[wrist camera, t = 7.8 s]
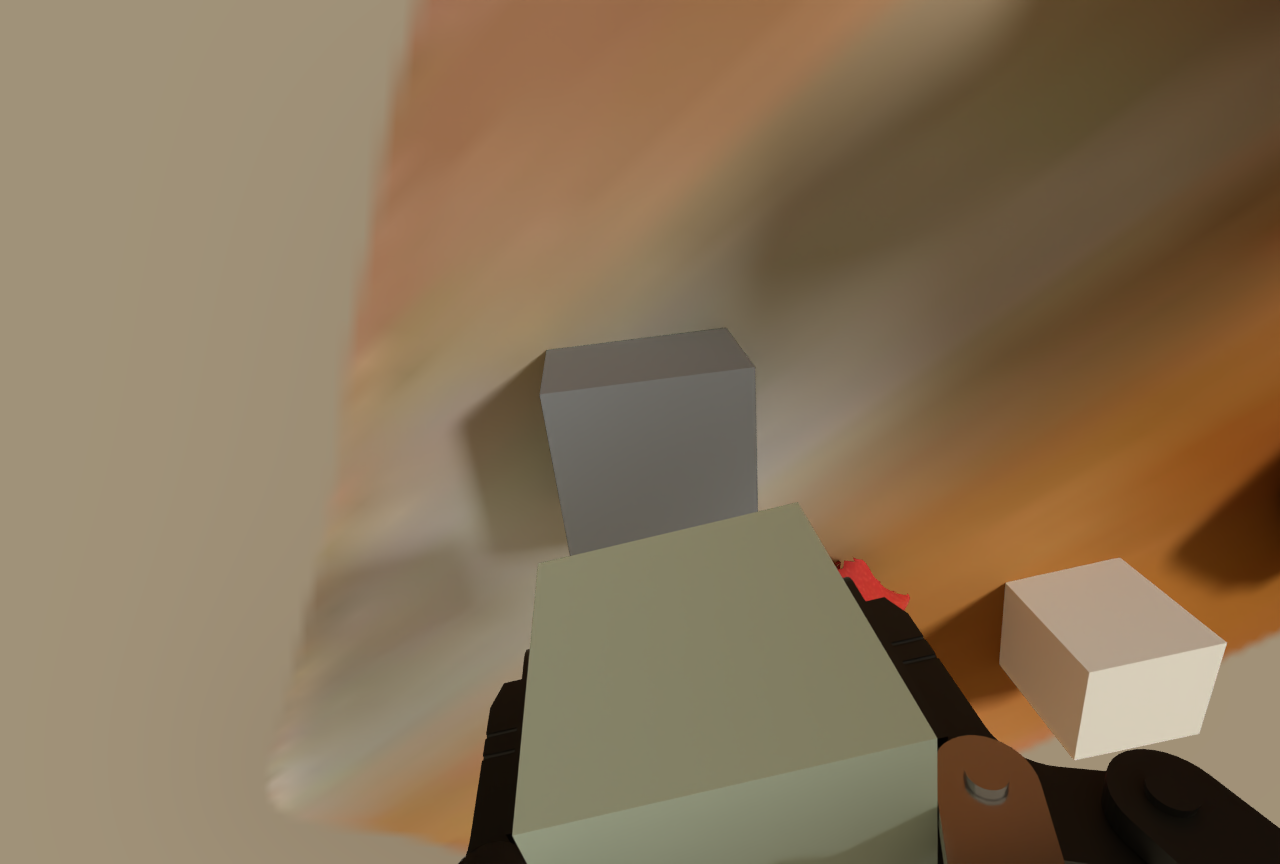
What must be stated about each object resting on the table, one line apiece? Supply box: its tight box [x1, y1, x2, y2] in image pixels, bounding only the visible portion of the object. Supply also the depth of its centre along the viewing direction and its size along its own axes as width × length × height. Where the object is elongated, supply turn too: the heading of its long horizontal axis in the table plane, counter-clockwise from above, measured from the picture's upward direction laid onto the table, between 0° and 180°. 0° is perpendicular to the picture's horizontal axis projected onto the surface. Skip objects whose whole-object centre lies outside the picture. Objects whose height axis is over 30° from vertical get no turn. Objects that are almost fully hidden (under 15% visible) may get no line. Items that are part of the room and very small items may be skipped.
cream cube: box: [999, 558, 1227, 760], centre depth 25 cm, size 5×5×5 cm
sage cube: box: [512, 502, 938, 864], centre depth 10 cm, size 5×5×5 cm
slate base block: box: [540, 328, 758, 556], centre depth 20 cm, size 6×6×4 cm
